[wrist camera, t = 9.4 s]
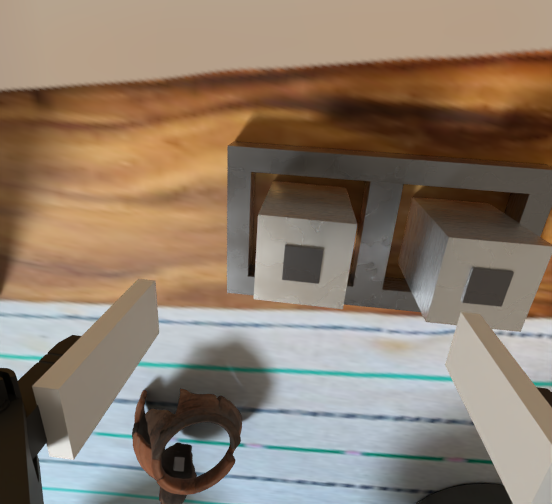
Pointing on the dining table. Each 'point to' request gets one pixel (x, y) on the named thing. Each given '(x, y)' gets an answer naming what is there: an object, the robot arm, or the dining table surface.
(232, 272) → the two-slot nut tray
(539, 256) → the gray upright block
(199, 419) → the pottery mug
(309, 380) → the dining table surface
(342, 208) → the nut block
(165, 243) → the dining table surface
